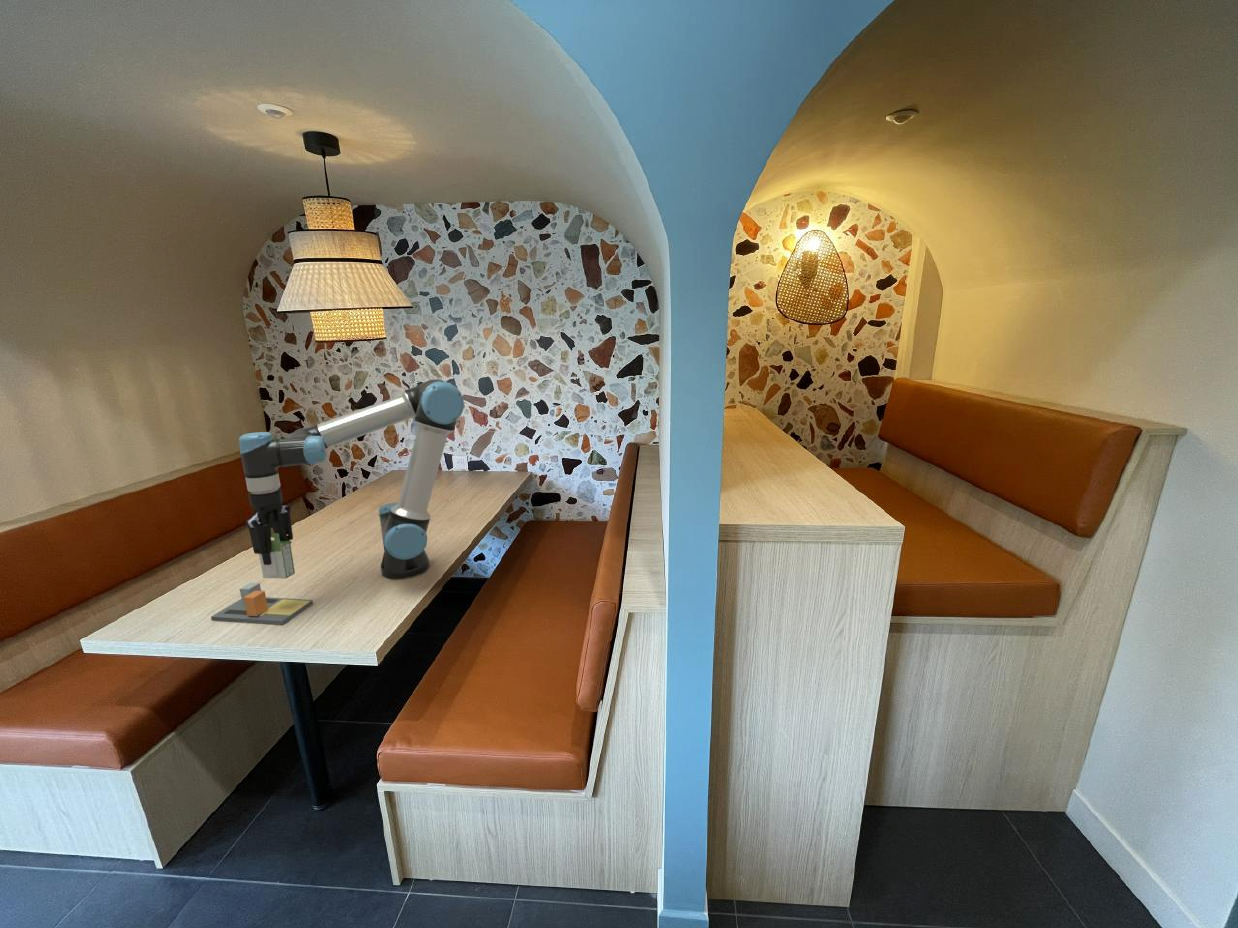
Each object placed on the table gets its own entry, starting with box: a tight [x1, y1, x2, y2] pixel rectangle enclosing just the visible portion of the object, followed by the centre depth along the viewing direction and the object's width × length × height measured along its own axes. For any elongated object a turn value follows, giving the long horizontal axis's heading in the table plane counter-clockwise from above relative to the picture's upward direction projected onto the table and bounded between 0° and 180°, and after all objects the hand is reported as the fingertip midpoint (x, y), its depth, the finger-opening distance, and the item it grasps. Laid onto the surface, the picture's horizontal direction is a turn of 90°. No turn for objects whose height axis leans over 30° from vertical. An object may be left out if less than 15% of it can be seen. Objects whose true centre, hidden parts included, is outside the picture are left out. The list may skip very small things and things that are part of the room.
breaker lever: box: [244, 590, 268, 616], centre depth 150 cm, size 4×3×6 cm
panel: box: [210, 582, 314, 626], centre depth 154 cm, size 12×22×6 cm, turn 81°
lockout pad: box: [261, 599, 310, 616], centre depth 154 cm, size 8×9×1 cm
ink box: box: [258, 532, 296, 580], centre depth 150 cm, size 7×4×13 cm, turn 84°
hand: (278, 570), depth 151 cm, fingers closed on ink box, 4 cm apart
